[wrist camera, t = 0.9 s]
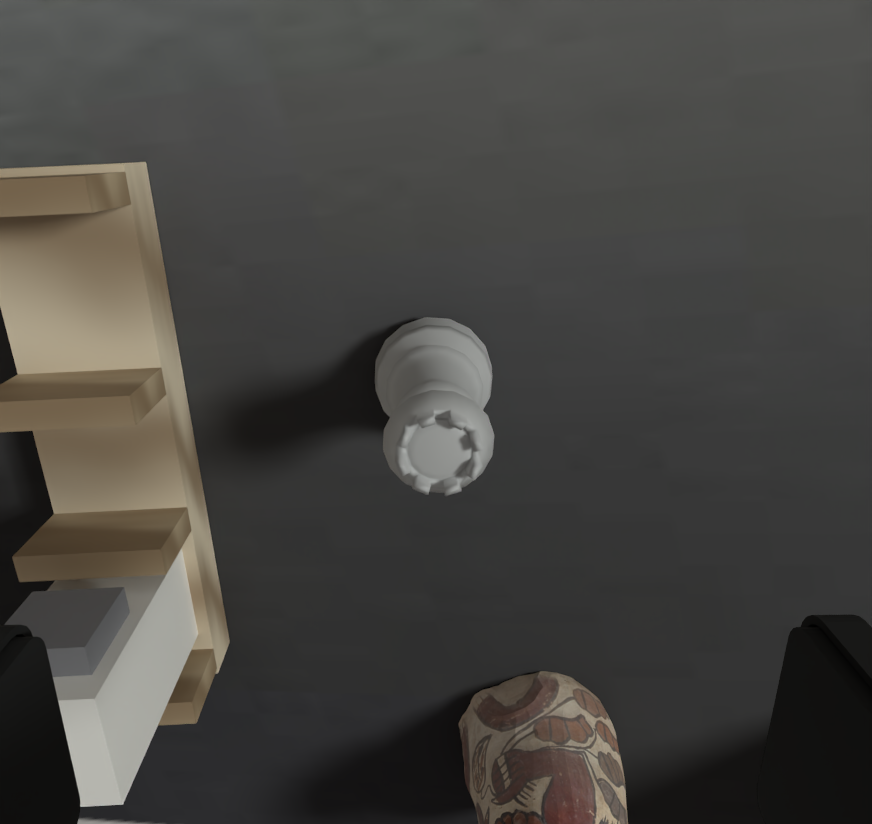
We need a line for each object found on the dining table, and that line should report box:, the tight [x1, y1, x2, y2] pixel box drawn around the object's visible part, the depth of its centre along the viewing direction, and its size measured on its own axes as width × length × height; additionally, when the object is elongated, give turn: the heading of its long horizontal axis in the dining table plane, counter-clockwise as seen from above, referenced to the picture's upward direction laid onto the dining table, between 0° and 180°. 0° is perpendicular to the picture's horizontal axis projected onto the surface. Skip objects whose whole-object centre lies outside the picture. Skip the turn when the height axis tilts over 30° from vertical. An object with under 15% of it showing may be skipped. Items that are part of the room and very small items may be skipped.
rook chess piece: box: [375, 317, 494, 496], centre depth 24 cm, size 4×4×8 cm
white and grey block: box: [4, 548, 198, 807], centre depth 24 cm, size 5×4×8 cm
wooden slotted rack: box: [0, 162, 230, 725], centre depth 26 cm, size 20×5×5 cm, turn 2°
